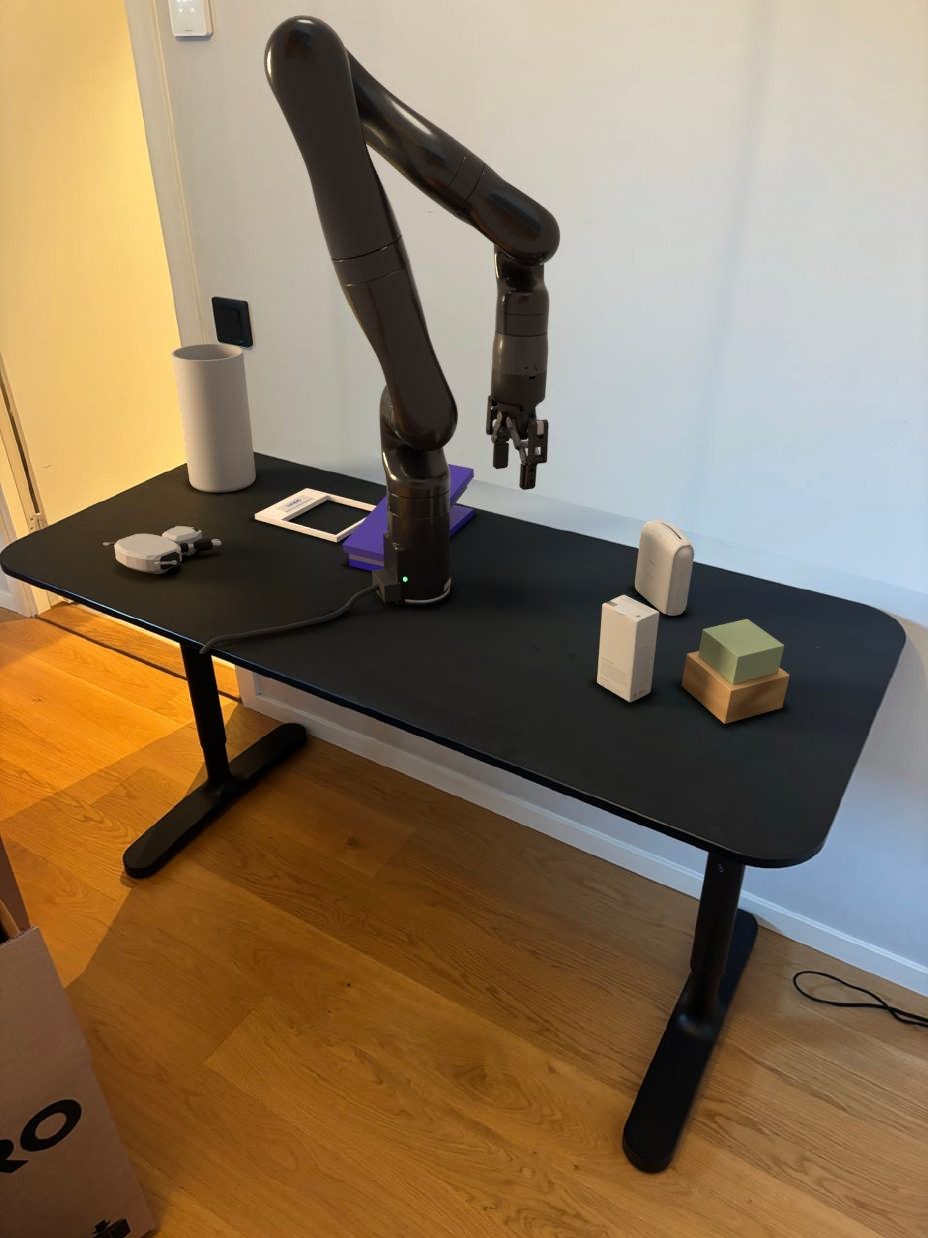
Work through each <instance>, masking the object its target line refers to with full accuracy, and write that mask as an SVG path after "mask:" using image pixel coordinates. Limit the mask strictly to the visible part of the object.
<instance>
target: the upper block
mask: <svg viewBox="0 0 928 1238" xmlns="http://www.w3.org/2000/svg"><path fill="white" fill-rule="evenodd" d="M784 649H785V644H783V643H781V642H780V641H779V640H778V639H777V638H775V637H774V636H772V635H771V634H769V633H768V632H766V631H765V630H763V628H761V627H759V626H758V625H757V624H755V623H754V622H753V621H751V620H750V619H748V618H745V619H741V620H737V621H732V622H727V623H724V624H719V625H715V626H711V627H707V628H703V629H702V631H701V637H700V643H699V649H698V651H699V654H698V656H699V657H700V658H701V659H703V660H704V661H705V662H706V663H707V664H709V665H710V666H711V667H712V668H713V669H715V670H716V671H717V672H718V673H720V674H721V675H722V676H723V677H724V678H726V679H727V680H728V681H729V682H730V683H732V684H736V683H740V682H744V681H748V680H751V679H755V678H759V677H763V676H767V675H770V674H774V673H778V671H779V668H780V667H781V662H782V657H783V653H784Z"/></svg>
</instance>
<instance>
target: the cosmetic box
mask: <svg viewBox="0 0 928 1238" xmlns="http://www.w3.org/2000/svg"><path fill="white" fill-rule="evenodd" d="M659 619H660V611H659V610H656V609H654V608H652V607H650V606H648V605H646V604H644V603H642V602H640V601H638V600H636V599H634V598H632V597H629V596H628V595H626V594H622V595H620V596H618V597H615V598H613V599H611V600H609V601H606V602H604V603H603V604H602V607H601V622H600V635H599V647H598V648H599V649H598V651H599V652H598V665H597V677H596V683H597V684H599V685H600V686H602V687H603V688H605V689H607V690H608V691H610V692H611V693H613V694H615V695H617V696H618V697H620V698H622V699H624V700H625V701H627V702H628V703H633V702H635V701H638V700H640V699H641V698H643V697H645V696H647V695H648V694H650V693H651V691H652V682H653V674H654V664H655V656H656V655H655V654H656V646H657V637H658V628H659Z"/></svg>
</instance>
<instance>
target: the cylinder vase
mask: <svg viewBox="0 0 928 1238" xmlns="http://www.w3.org/2000/svg"><path fill="white" fill-rule="evenodd" d="M244 356H245V355H244V349H243V348H242V347H240V346H237V345H234V344H226V343H199V344H198V343H197V344H191V345H186V346H183V347H178V348H176V349H174V350H173V351H172V352H171V359H172V365H173V372H174V379H175V380H174V381H175V387H176V395H177V401H178V408H179V413H180V414H179V415H180V424H181V430H182V436H183V443H184V451H185V459H186V464H187V465H186V466H187V473H188V479H189V483H190V485H191V486H192V487H193V488H194V489H196V490H199V491H201V492H206V493H214V494H221V493H231V492H232V493H233V492H236V491H240V490H243V489H247V488H248V487H249V486H251V485H252V484H253V483H254V482H255V480H256V479H257V473H256V465H255V463H256V462H255V455H254V446H253V435H252V424H251V415H250V406H249V395H248V386H247V375H246V365H245V357H244Z"/></svg>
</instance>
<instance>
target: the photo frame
mask: <svg viewBox="0 0 928 1238" xmlns="http://www.w3.org/2000/svg"><path fill="white" fill-rule="evenodd" d="M326 501H331V502H335V503H339V504H343V505H347V506H350V507H353V508H354V507H355V508H358V509H362V510H365V511H370V512H372V511H373V510H374V508H375V507H376V506H377V505H374V504H370V503H366V502H362V501H358V500H355V499H350V498H347V497H343V496H339V495H336V494H331V493H327V492H323V491H319V490H316V489H312V488H308V487H306V488H304V489H302V490H300V491H298V492H297V493H293V494H292V495H290V496H288V497H286V498H284V499H282V500H280V501H279V502H276V503H274V504H273V505H271V506H269V507H267V508H265V509H262V510H261V511H259V512H256V513H254V519H255V520H257V521H260V522H263V523H264V522H265V523H267V524H271V525H274V526H278V527H281V528H285V529H288V530H293V531H295V532H299V533H302V534H306V535H310V536H313V537H317V538H320V539H324V540H327V541H331V542H334V543H338V542H340V541H342V540H344V539H345V538H348V537H349V536H350V535H351V534H352V533H353V532H354V531H355V530H356V529H357V527H358V526H359V525H360V524H361V523H362V522H363V521H364V520H365V518H366V517H364V518H361V520H359V521H357V522H355V523H353V524H352V525H351V526H349V527H347V528H346V529H343V530H342V531H340V532H339V533H336V534H333V533H329V532H326V531H322V530H319V529H315V528H311V527H307V526H304V525H301V524H297V523H294V522H290V520H292V519H295V518H296V517H299V516H300V515H302V514H304V513H305V512H307V511H309V510H311V509H313V508H315V507H316V506H319V505H320V504H322V503H324V502H326Z"/></svg>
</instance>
